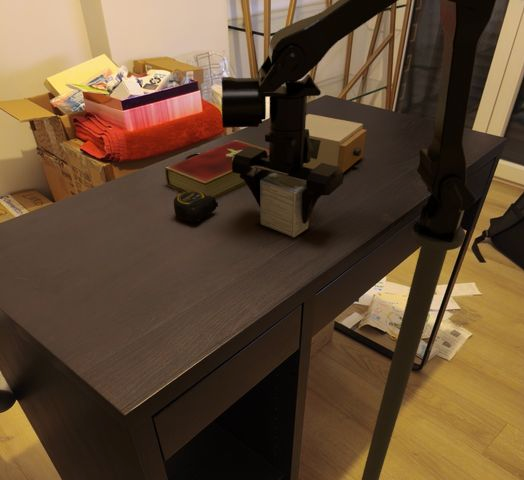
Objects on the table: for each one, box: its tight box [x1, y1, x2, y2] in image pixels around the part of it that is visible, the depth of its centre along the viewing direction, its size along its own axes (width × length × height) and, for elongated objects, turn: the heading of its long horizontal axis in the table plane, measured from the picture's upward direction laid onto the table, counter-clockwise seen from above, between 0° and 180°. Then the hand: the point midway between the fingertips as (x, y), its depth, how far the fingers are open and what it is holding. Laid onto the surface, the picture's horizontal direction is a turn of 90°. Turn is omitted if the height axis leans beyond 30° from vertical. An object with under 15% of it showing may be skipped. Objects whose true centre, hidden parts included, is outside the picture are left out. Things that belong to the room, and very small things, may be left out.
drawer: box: [338, 129, 367, 174], centre depth 106 cm, size 14×11×6 cm
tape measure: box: [173, 191, 219, 223], centre depth 89 cm, size 7×7×4 cm
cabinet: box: [303, 113, 364, 169], centre depth 107 cm, size 14×13×8 cm
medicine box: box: [259, 172, 309, 238], centre depth 84 cm, size 8×4×9 cm, turn 49°
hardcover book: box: [164, 139, 271, 199], centre depth 102 cm, size 12×21×4 cm, turn 139°
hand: (284, 216), depth 86 cm, fingers closed on medicine box, 8 cm apart
